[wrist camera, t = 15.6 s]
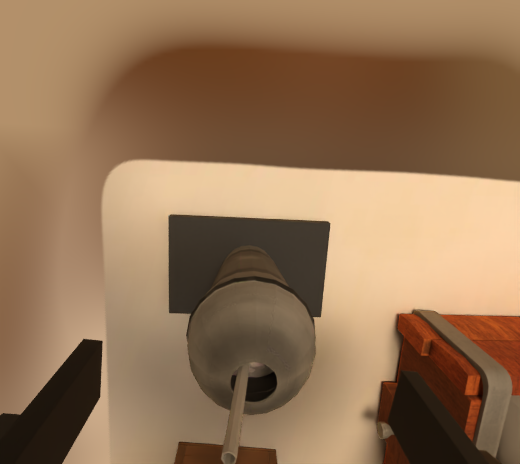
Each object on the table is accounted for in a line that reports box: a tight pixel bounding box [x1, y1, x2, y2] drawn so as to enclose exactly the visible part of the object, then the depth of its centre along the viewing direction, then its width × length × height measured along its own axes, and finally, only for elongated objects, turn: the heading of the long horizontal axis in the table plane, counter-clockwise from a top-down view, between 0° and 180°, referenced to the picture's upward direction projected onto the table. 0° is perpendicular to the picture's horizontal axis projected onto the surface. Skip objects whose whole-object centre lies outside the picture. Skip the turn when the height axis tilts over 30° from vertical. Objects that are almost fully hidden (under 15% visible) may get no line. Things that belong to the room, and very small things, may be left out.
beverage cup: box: [186, 245, 315, 464], centre depth 21 cm, size 7×7×20 cm
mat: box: [169, 215, 330, 317], centre depth 31 cm, size 14×9×1 cm, turn 87°
